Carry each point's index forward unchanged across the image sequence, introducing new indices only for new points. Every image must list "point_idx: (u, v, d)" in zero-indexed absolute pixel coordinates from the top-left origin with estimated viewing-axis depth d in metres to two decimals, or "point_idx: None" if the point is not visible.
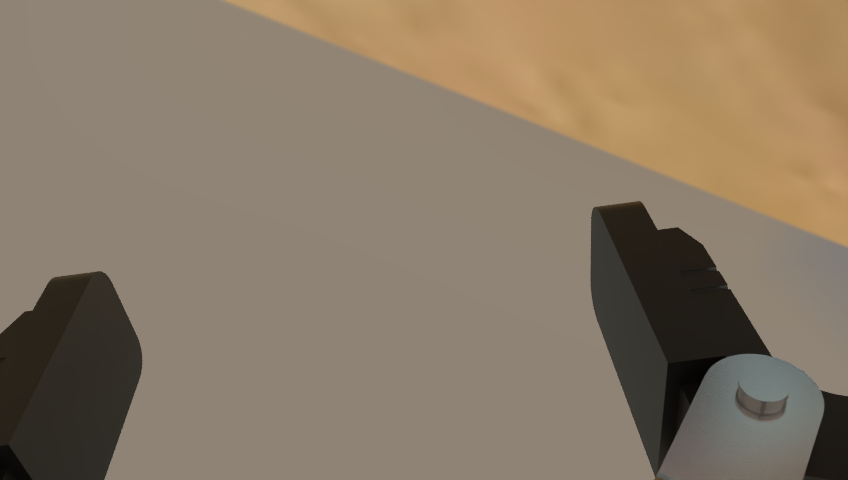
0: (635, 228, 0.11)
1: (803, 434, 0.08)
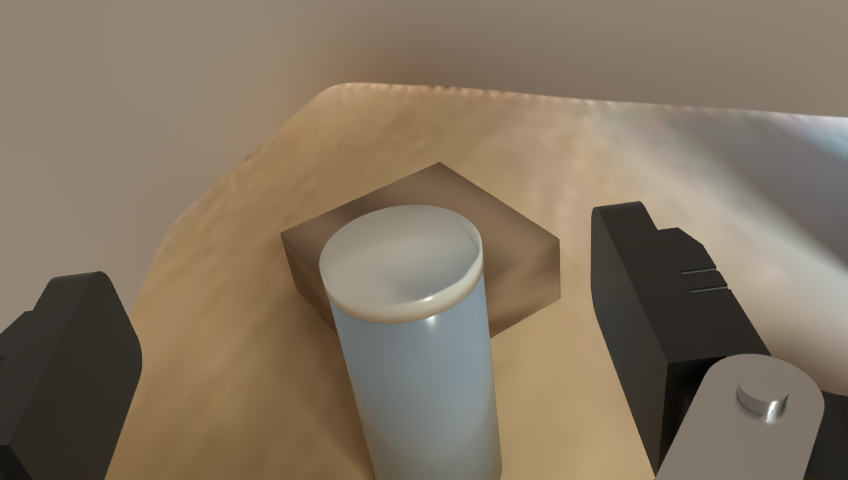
0: (635, 228, 0.11)
1: (803, 434, 0.08)
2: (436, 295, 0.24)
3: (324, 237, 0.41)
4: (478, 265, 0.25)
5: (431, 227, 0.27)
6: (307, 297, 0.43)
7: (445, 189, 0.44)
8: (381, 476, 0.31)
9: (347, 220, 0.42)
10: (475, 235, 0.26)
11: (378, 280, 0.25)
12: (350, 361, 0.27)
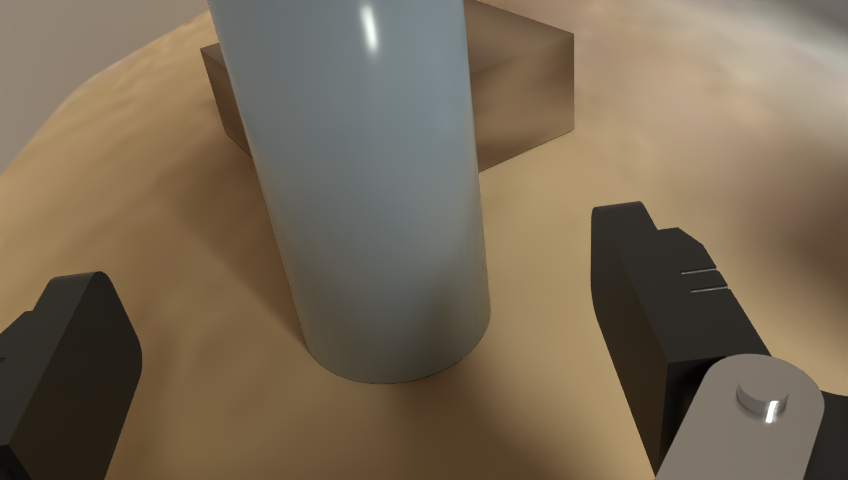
0: (635, 228, 0.11)
1: (803, 434, 0.08)
2: None
3: None
4: None
5: None
6: (237, 139, 0.33)
7: None
8: (304, 310, 0.20)
9: None
10: None
11: None
12: (236, 79, 0.16)
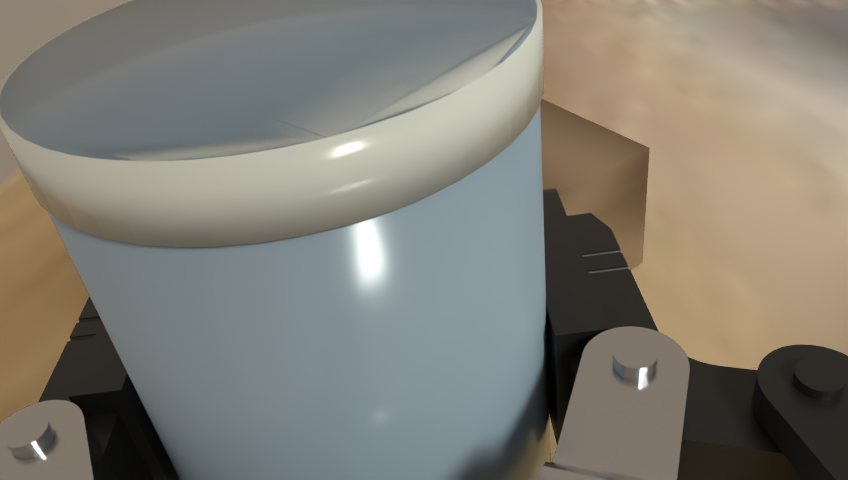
0: (546, 213, 0.11)
1: (665, 398, 0.08)
2: (374, 129, 0.06)
3: None
4: (533, 54, 0.07)
5: None
6: None
7: None
8: None
9: None
10: None
11: (173, 97, 0.07)
12: (134, 385, 0.09)
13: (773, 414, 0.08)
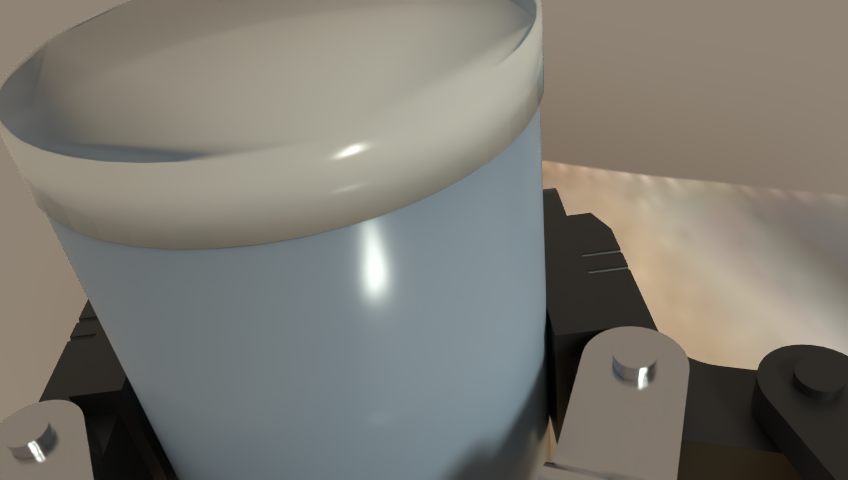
0: (545, 213, 0.11)
1: (664, 398, 0.08)
2: (372, 130, 0.06)
3: None
4: (533, 54, 0.07)
5: None
6: None
7: None
8: None
9: None
10: None
11: (170, 98, 0.07)
12: (132, 387, 0.09)
13: (773, 414, 0.08)
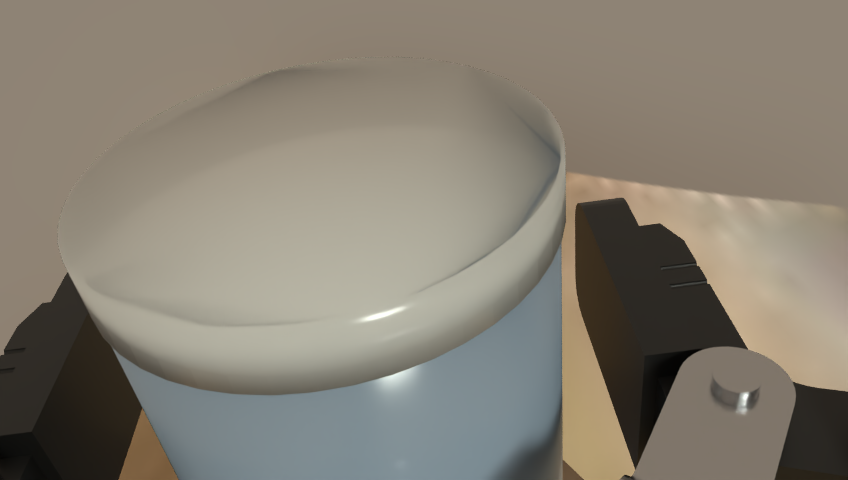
0: (617, 224, 0.11)
1: (774, 424, 0.08)
2: (419, 297, 0.06)
3: None
4: (558, 199, 0.08)
5: (410, 102, 0.09)
6: None
7: None
8: None
9: None
10: (538, 116, 0.09)
11: (227, 244, 0.07)
12: None
13: None
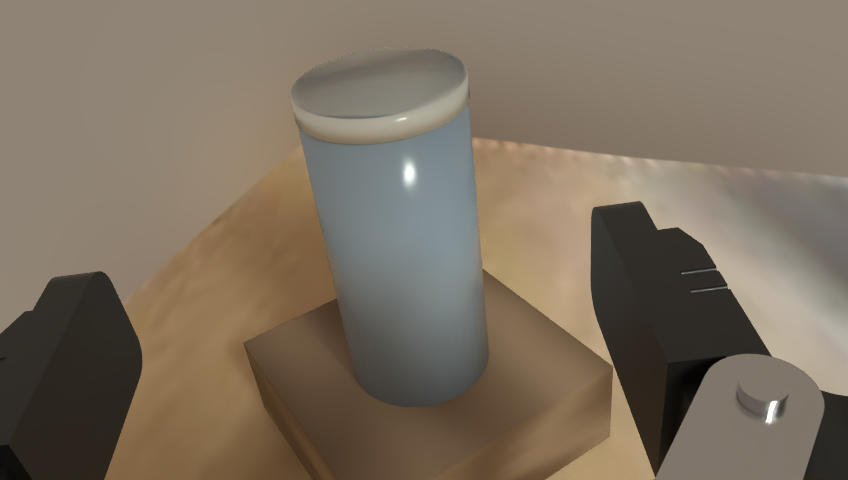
0: (635, 228, 0.11)
1: (803, 434, 0.08)
2: (416, 110, 0.22)
3: (300, 351, 0.32)
4: (463, 89, 0.23)
5: (413, 62, 0.25)
6: (278, 424, 0.33)
7: None
8: (357, 354, 0.28)
9: (331, 326, 0.33)
10: (460, 65, 0.24)
11: (353, 102, 0.23)
12: (323, 206, 0.24)
13: None
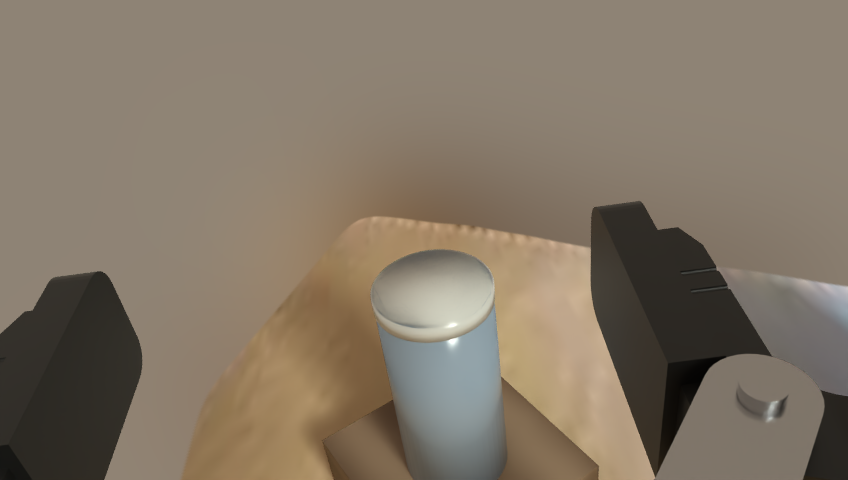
0: (635, 228, 0.11)
1: (803, 434, 0.08)
2: (460, 322, 0.32)
3: (366, 448, 0.42)
4: (491, 298, 0.33)
5: (454, 268, 0.35)
6: None
7: None
8: (412, 460, 0.39)
9: (387, 427, 0.43)
10: (488, 275, 0.34)
11: (416, 310, 0.33)
12: (392, 370, 0.35)
13: None
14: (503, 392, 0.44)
